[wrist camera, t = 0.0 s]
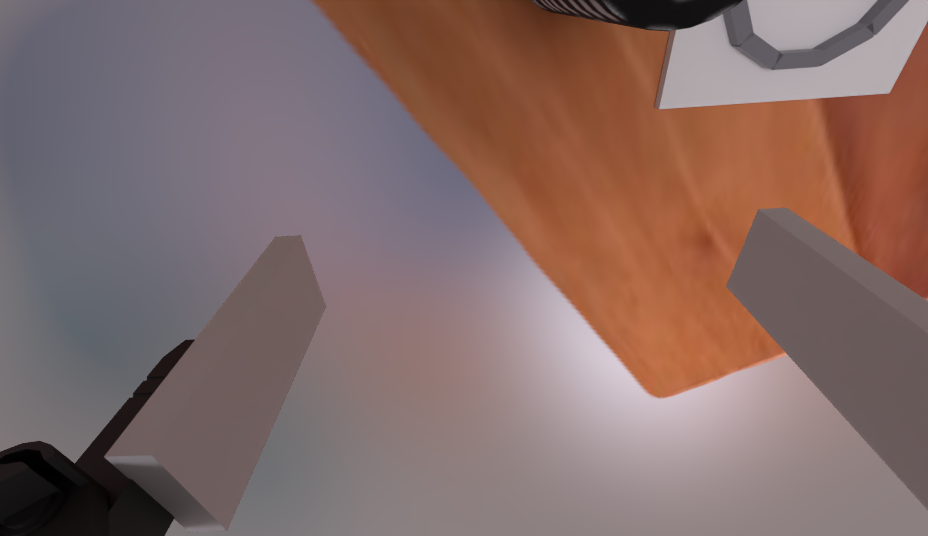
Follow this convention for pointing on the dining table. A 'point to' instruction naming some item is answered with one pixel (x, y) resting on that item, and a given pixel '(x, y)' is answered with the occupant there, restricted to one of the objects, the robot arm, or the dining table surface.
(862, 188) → the dining table surface
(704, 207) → the dining table surface
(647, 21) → the spotted tube
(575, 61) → the dining table surface
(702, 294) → the dining table surface
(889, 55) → the ring dock
